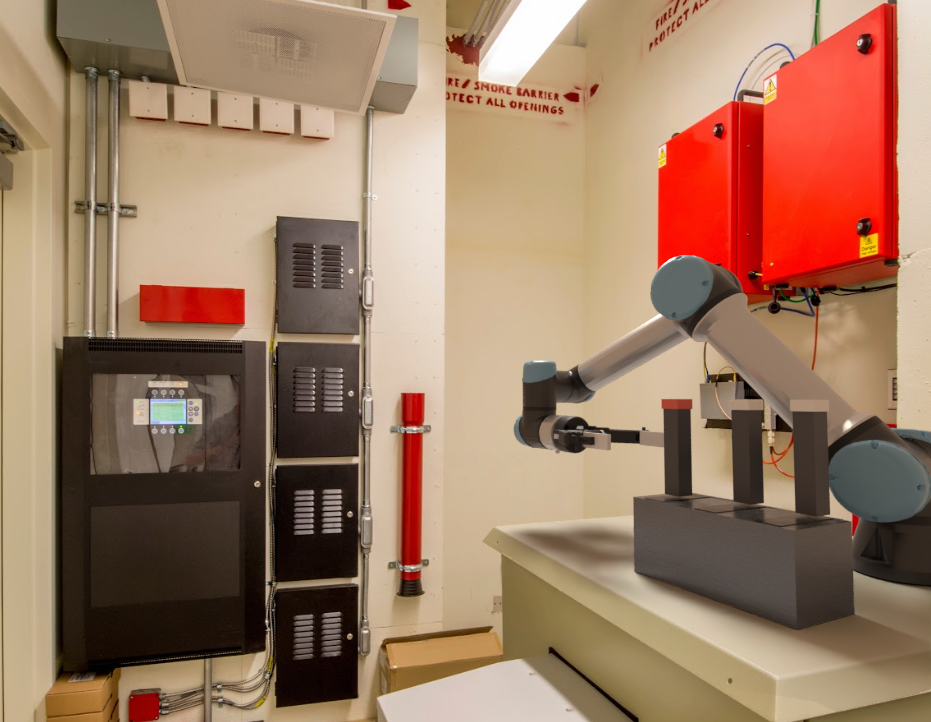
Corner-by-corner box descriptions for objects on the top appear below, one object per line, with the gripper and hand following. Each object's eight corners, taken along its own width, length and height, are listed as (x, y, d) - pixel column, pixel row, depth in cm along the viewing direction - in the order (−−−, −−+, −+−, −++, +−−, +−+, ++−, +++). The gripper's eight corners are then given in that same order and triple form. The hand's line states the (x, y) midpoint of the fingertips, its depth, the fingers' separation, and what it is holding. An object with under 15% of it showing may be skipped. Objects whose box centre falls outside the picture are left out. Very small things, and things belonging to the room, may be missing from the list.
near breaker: (793, 512, 83) (789, 399, 84) (808, 510, 85) (805, 399, 86) (817, 517, 80) (813, 399, 81) (832, 514, 82) (828, 399, 83)
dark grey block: (634, 571, 98) (633, 496, 99) (686, 562, 104) (685, 491, 105) (796, 629, 74) (794, 529, 74) (854, 613, 79) (851, 520, 80)
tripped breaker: (662, 493, 99) (661, 399, 100) (677, 492, 101) (676, 399, 102) (679, 497, 96) (677, 399, 97) (694, 495, 98) (692, 399, 99)
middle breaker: (731, 501, 92) (729, 399, 93) (746, 499, 94) (743, 399, 95) (751, 505, 89) (748, 399, 90) (766, 503, 91) (763, 399, 92)
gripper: (612, 449, 131) (689, 459, 112) (514, 454, 120) (582, 465, 101) (612, 415, 132) (689, 419, 113) (515, 416, 120) (582, 420, 101)
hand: (639, 441), depth 107 cm, fingers open, 13 cm apart
